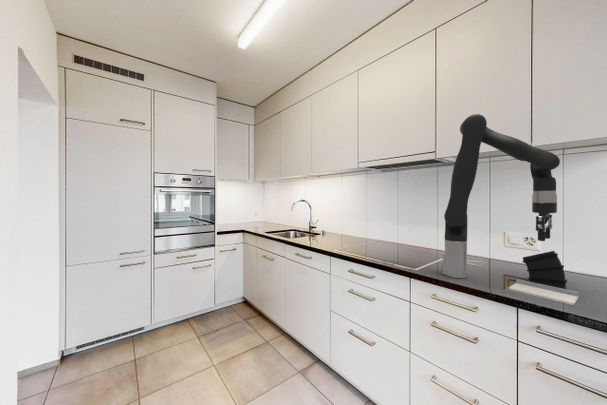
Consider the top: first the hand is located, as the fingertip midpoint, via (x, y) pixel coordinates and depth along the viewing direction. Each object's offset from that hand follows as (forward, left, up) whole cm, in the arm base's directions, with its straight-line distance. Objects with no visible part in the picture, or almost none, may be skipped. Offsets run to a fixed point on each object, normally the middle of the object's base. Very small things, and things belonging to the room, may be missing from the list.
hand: (544, 239), depth 105 cm
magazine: (0, 0, -20) cm, 20 cm away
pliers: (-34, +14, -20) cm, 42 cm away
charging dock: (+2, -13, -20) cm, 24 cm away
